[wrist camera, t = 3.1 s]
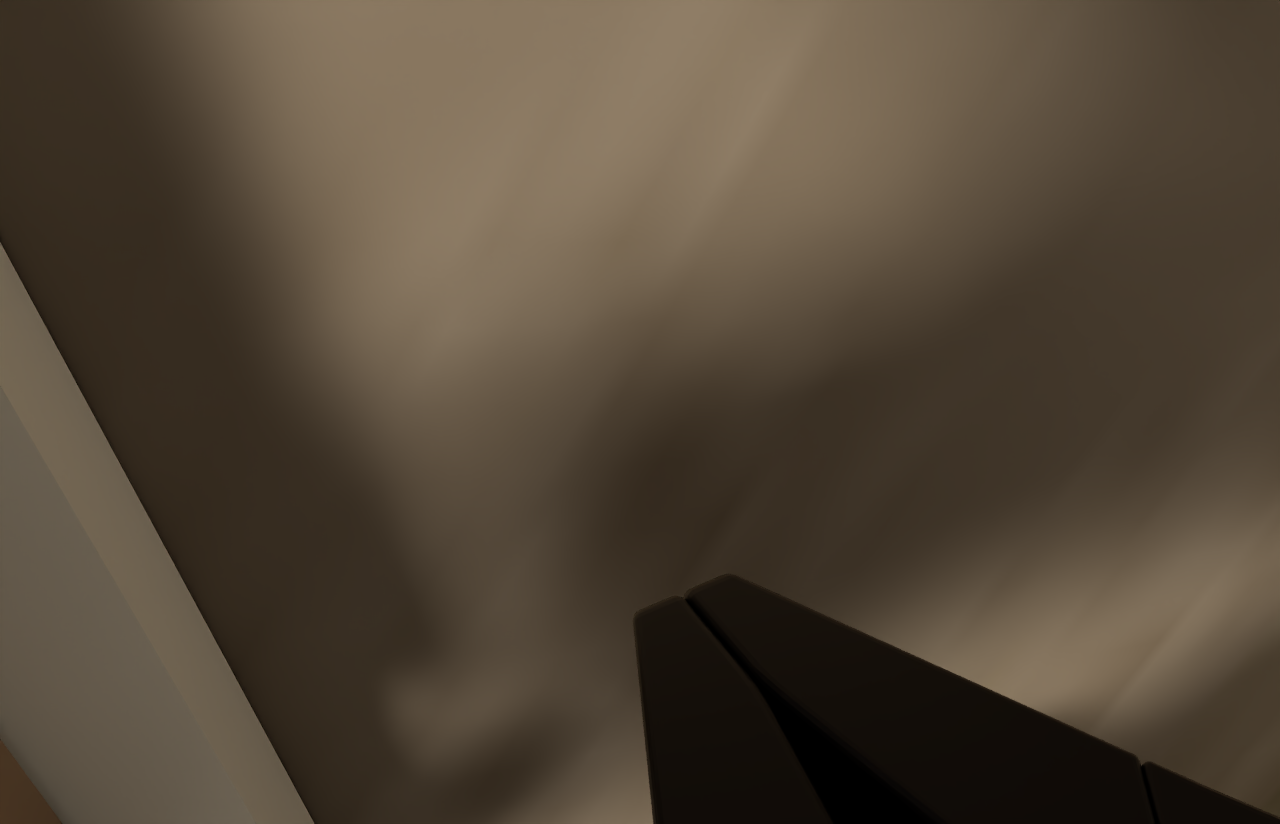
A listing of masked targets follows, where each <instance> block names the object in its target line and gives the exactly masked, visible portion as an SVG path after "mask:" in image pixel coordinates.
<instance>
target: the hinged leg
mask: <svg viewBox="0 0 1280 824" xmlns="http://www.w3.org/2000/svg"><path fill="white" fill-rule="evenodd" d="M0 824H62V822H61V821H60V820H59V818H58V817H57V815H56V814H55V813H54V811H53V810H52V809H51V807H50V806H49V805H48V803H47V802H46V800H45V799H44V798H43V796H42V795H41V794H40V792H39V791H38V790H37V788H36V787H35V786H34V784H33V783H32V781H31V780H30V779H29V777H28V776H27V775H26V773H25V772H24V771H23V769H22V768H21V766H20V765H19V764H18V762H17V761H16V760H15V758H14V757H13V756H12V754H11V753H10V751H9V750H8V749H7V747H6V746H5V745H4V743H3V742H2V741H1V739H0Z"/></svg>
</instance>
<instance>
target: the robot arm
mask: <svg viewBox="0 0 1280 824" xmlns="http://www.w3.org/2000/svg"><path fill="white" fill-rule="evenodd" d="M633 627H634V637H635V647H636V657H637V667H638V676H639V686H640V696H641V706H642V716H643V726H644V735H645V745H646V755H647V765H648V775H649V785H650V795H651V804H652V814H653V824H1280V818H1279V817H1277V816H1275V815H1272V814H1270V813H1268V812H1265V811H1263V810H1261V809H1258V808H1256V807H1254V806H1251V805H1249V804H1246V803H1244V802H1242V801H1239V800H1237V799H1235V798H1232V797H1230V796H1228V795H1225V794H1223V793H1220V792H1218V791H1216V790H1213V789H1211V788H1209V787H1206V786H1204V785H1202V784H1200V783H1197V782H1195V781H1193V780H1191V779H1188V778H1186V777H1184V776H1182V775H1180V774H1177V773H1175V772H1173V771H1171V770H1168V769H1166V768H1164V767H1162V766H1160V765H1157V764H1155V763H1153V762H1149V761H1148V762H1145V763H1143V764H1142V767H1141V764H1140V760H1139V759H1138V757H1137V756H1136V755H1134V754H1132V753H1130V752H1127V751H1125V750H1123V749H1121V748H1119V747H1116V746H1114V745H1112V744H1110V743H1107V742H1105V741H1103V740H1101V739H1099V738H1096V737H1094V736H1092V735H1090V734H1087V733H1085V732H1083V731H1081V730H1079V729H1076V728H1074V727H1072V726H1070V725H1067V724H1065V723H1063V722H1061V721H1059V720H1056V719H1054V718H1052V717H1050V716H1047V715H1045V714H1043V713H1041V712H1039V711H1036V710H1034V709H1032V708H1030V707H1027V706H1025V705H1023V704H1021V703H1019V702H1016V701H1014V700H1012V699H1010V698H1007V697H1005V696H1003V695H1001V694H999V693H996V692H994V691H992V690H990V689H987V688H985V687H983V686H981V685H979V684H976V683H974V682H972V681H970V680H968V679H965V678H963V677H961V676H959V675H956V674H954V673H952V672H950V671H948V670H945V669H943V668H941V667H939V666H936V665H934V664H932V663H930V662H928V661H925V660H923V659H921V658H919V657H916V656H914V655H912V654H910V653H908V652H905V651H903V650H901V649H899V648H896V647H894V646H892V645H890V644H888V643H885V642H883V641H881V640H879V639H876V638H874V637H872V636H870V635H868V634H865V633H863V632H861V631H859V630H856V629H854V628H852V627H850V626H848V625H845V624H843V623H841V622H839V621H836V620H834V619H832V618H830V617H828V616H825V615H823V614H821V613H819V612H816V611H814V610H812V609H810V608H808V607H805V606H803V605H801V604H799V603H797V602H794V601H792V600H790V599H788V598H785V597H783V596H781V595H779V594H777V593H774V592H772V591H770V590H768V589H765V588H763V587H761V586H759V585H757V584H754V583H752V582H750V581H748V580H745V579H743V578H741V577H739V576H736V575H731V574H725V575H722V576H719V577H717V578H714V579H712V580H710V581H707V582H705V583H703V584H700V585H698V586H696V587H693V588H691V589H689V590H688V591H687V592H686V594H685V595H684V598H682V597H679V596H672V597H670V598H667V599H665V600H663V601H660V602H658V603H656V604H653V605H651V606H648V607H646V608H644V609H641V610H639V611H638V612H636V614H635V615H634V618H633Z"/></svg>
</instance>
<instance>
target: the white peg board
mask: <svg viewBox="0 0 1280 824" xmlns="http://www.w3.org/2000/svg"><path fill="white" fill-rule="evenodd" d="M0 739H1V741H2V742H3V743H4V745H5V746H6V747H7V749H8V750H9V751H10V753H11V754H12V756H13V757H14V758H15V760H16V761H17V762H18V764H19V765H20V766H21V768H22V769H23V771H24V772H25V773H26V775H27V776H28V777H29V779H30V780H31V781H32V783H33V784H34V786H35V787H36V788H37V790H38V791H39V792H40V794H41V795H42V796H43V798H44V799H45V800H46V802H47V803H48V805H49V806H50V807H51V809H52V810H53V811H54V813H55V814H56V815H57V817H58V818H59V820H60V821H61V822H62V824H314V822H313V820H312V818H311V817H310V815H309V813H308V811H307V809H306V807H305V805H304V804H303V802H302V800H301V798H300V796H299V794H298V792H297V791H296V789H295V787H294V785H293V783H292V781H291V780H290V778H289V776H288V774H287V772H286V770H285V768H284V767H283V765H282V763H281V761H280V759H279V757H278V755H277V754H276V752H275V750H274V748H273V746H272V744H271V742H270V741H269V739H268V737H267V735H266V733H265V731H264V730H263V728H262V726H261V724H260V722H259V720H258V718H257V717H256V715H255V713H254V711H253V709H252V707H251V705H250V704H249V702H248V700H247V698H246V696H245V694H244V693H243V691H242V689H241V687H240V685H239V683H238V681H237V680H236V678H235V676H234V674H233V672H232V670H231V668H230V667H229V665H228V663H227V661H226V659H225V657H224V656H223V654H222V652H221V650H220V648H219V646H218V644H217V643H216V641H215V639H214V637H213V635H212V633H211V631H210V630H209V628H208V626H207V624H206V622H205V620H204V619H203V617H202V615H201V613H200V611H199V609H198V607H197V606H196V604H195V602H194V600H193V598H192V596H191V594H190V593H189V591H188V589H187V587H186V585H185V583H184V582H183V580H182V578H181V576H180V574H179V572H178V570H177V569H176V567H175V565H174V563H173V561H172V559H171V557H170V556H169V554H168V552H167V550H166V548H165V546H164V545H163V543H162V541H161V539H160V537H159V535H158V533H157V532H156V530H155V528H154V526H153V524H152V522H151V520H150V519H149V517H148V515H147V513H146V511H145V509H144V507H143V506H142V504H141V502H140V500H139V498H138V496H137V495H136V493H135V491H134V489H133V487H132V485H131V483H130V482H129V480H128V478H127V476H126V474H125V472H124V470H123V469H122V467H121V465H120V463H119V461H118V459H117V458H116V456H115V454H114V452H113V450H112V448H111V446H110V445H109V443H108V441H107V439H106V437H105V435H104V433H103V432H102V430H101V428H100V426H99V424H98V422H97V421H96V419H95V417H94V415H93V413H92V411H91V409H90V408H89V406H88V404H87V402H86V400H85V398H84V396H83V395H82V393H81V391H80V389H79V387H78V385H77V384H76V382H75V380H74V378H73V376H72V374H71V372H70V371H69V369H68V367H67V365H66V363H65V361H64V359H63V358H62V356H61V354H60V352H59V350H58V348H57V347H56V345H55V343H54V341H53V339H52V337H51V335H50V334H49V332H48V330H47V328H46V326H45V324H44V322H43V321H42V319H41V317H40V315H39V313H38V311H37V310H36V308H35V306H34V304H33V302H32V300H31V298H30V297H29V295H28V293H27V291H26V289H25V287H24V285H23V284H22V282H21V280H20V278H19V276H18V274H17V272H16V271H15V269H14V267H13V265H12V263H11V261H10V260H9V258H8V256H7V254H6V252H5V250H4V248H3V247H2V245H1V243H0Z"/></svg>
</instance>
